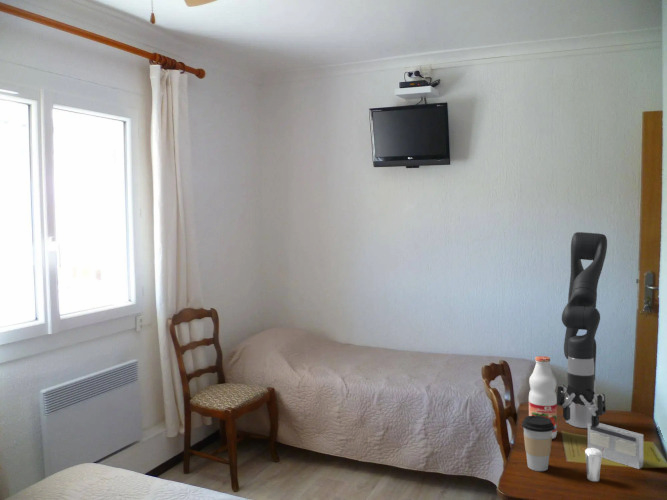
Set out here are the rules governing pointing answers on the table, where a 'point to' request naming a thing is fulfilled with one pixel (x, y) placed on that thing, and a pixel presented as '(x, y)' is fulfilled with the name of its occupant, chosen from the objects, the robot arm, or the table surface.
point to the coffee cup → (537, 441)
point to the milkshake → (593, 463)
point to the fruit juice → (543, 392)
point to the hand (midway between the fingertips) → (580, 423)
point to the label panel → (617, 444)
